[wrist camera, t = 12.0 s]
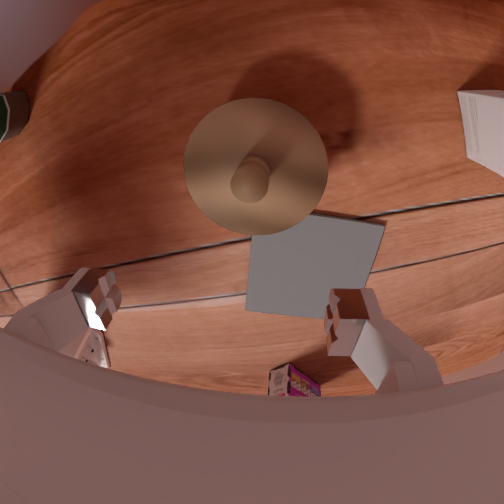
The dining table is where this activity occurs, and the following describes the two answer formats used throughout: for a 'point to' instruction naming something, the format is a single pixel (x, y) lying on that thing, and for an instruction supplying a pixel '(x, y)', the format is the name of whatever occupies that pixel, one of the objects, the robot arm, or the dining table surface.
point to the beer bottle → (13, 113)
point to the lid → (255, 166)
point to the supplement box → (484, 127)
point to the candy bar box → (291, 383)
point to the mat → (310, 264)
